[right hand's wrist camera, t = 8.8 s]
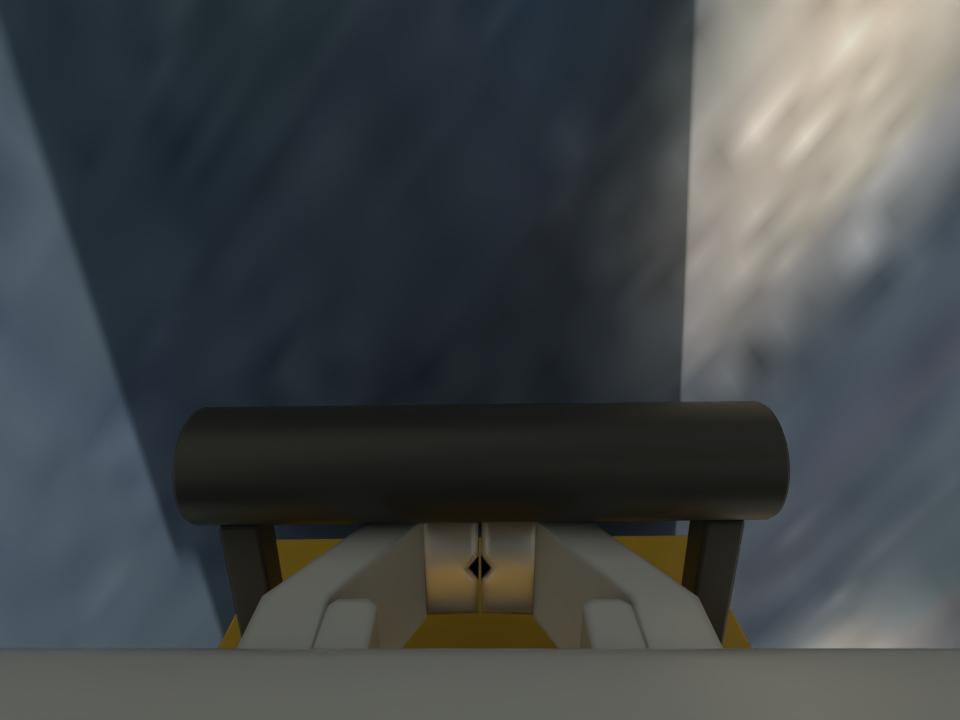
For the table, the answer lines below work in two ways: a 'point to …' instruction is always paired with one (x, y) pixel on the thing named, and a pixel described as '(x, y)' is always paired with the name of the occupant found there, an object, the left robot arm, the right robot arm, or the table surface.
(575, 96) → the table surface
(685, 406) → the drawer
